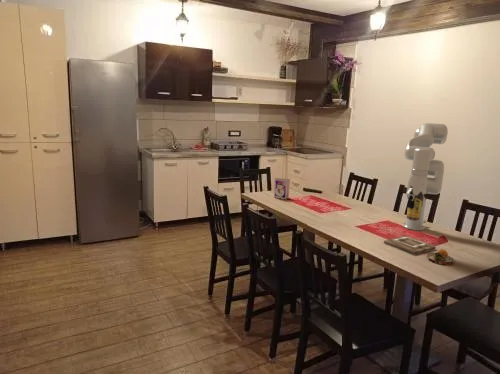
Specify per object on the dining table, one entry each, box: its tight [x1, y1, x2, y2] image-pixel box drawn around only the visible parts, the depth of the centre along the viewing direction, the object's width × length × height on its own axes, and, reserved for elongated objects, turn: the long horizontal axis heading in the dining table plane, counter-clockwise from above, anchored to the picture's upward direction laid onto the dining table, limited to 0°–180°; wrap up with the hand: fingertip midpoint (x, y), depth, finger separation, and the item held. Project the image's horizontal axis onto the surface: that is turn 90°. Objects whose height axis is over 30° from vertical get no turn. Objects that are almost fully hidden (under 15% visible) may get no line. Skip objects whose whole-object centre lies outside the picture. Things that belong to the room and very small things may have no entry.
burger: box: [426, 248, 454, 266], centre depth 183 cm, size 12×12×8 cm
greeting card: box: [273, 177, 291, 200], centre depth 291 cm, size 11×7×15 cm, turn 53°
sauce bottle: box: [406, 184, 423, 221], centre depth 195 cm, size 6×6×20 cm
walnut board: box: [383, 235, 436, 256], centre depth 200 cm, size 18×18×2 cm
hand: (414, 206), depth 196 cm, fingers closed on sauce bottle, 6 cm apart
